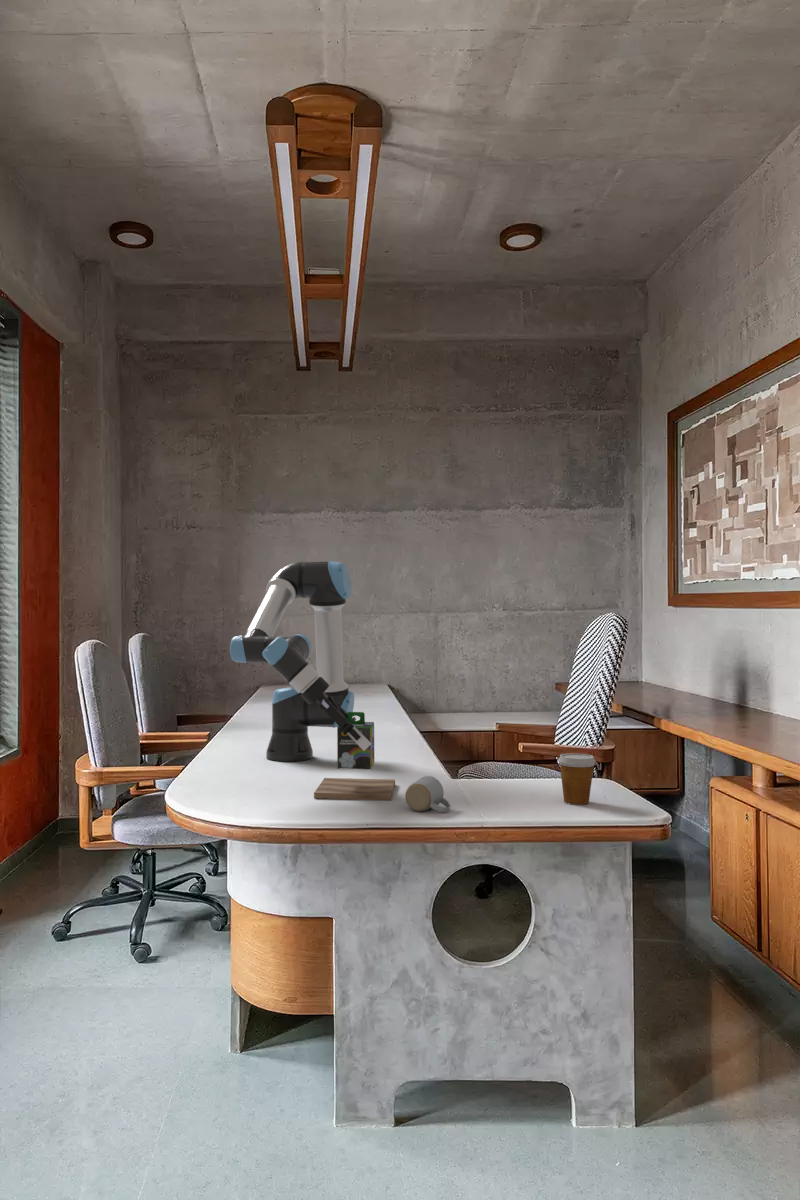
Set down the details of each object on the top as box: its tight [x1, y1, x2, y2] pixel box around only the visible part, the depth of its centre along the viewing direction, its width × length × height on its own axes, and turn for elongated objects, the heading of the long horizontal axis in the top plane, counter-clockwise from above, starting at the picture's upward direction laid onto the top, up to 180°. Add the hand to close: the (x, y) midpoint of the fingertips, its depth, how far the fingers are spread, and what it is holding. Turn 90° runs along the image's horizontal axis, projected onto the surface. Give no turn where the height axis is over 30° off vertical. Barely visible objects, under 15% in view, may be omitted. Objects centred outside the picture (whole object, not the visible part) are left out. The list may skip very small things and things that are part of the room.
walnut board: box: [313, 777, 396, 801], centre depth 241 cm, size 20×20×2 cm
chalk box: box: [336, 711, 375, 770], centre depth 241 cm, size 9×9×15 cm
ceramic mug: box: [404, 775, 451, 814], centre depth 221 cm, size 11×8×8 cm
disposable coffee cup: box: [557, 752, 596, 805], centre depth 231 cm, size 10×10×12 cm
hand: (367, 744), depth 241 cm, fingers closed on chalk box, 10 cm apart
